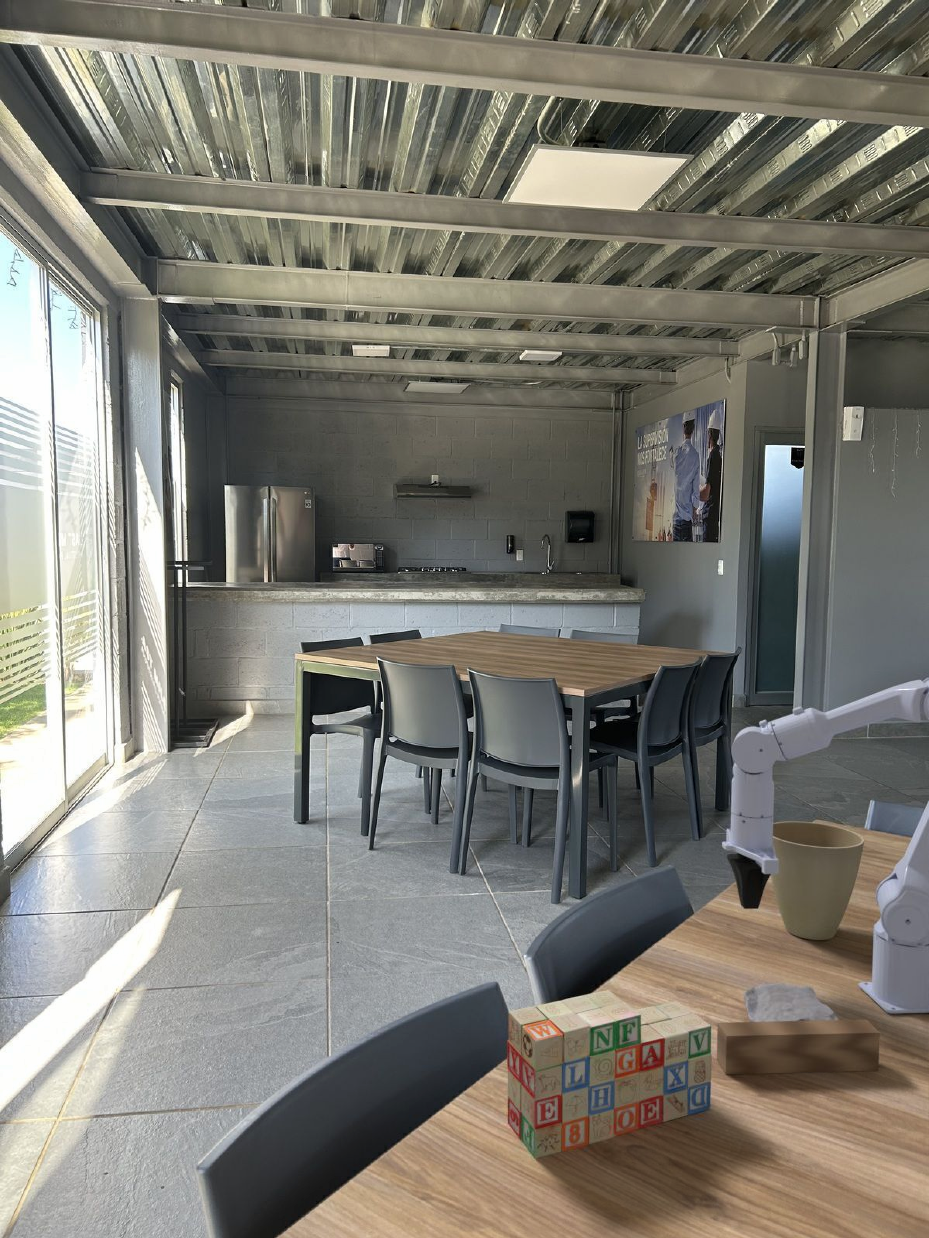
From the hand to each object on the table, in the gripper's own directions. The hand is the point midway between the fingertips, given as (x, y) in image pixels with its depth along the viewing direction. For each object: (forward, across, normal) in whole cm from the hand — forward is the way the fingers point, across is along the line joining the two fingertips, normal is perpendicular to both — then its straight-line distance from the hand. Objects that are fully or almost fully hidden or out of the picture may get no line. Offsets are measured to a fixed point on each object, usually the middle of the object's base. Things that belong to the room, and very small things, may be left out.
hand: (749, 907), depth 126 cm
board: (+10, +23, -3) cm, 25 cm away
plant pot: (+10, -15, +16) cm, 24 cm away
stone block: (+10, +14, -1) cm, 18 cm away
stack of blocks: (+10, +32, -27) cm, 43 cm away
